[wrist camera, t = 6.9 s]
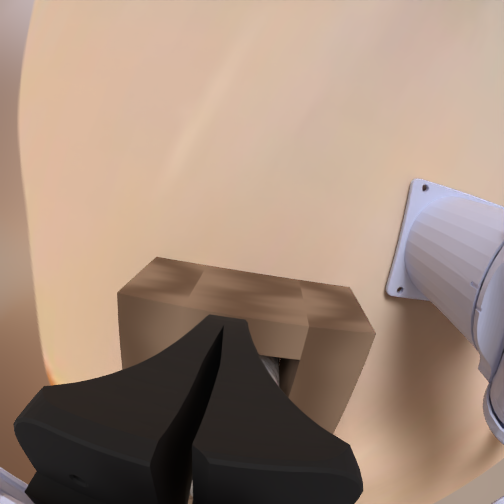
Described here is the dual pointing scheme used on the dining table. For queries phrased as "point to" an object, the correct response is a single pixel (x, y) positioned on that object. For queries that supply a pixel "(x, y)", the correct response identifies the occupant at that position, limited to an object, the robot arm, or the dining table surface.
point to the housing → (255, 326)
